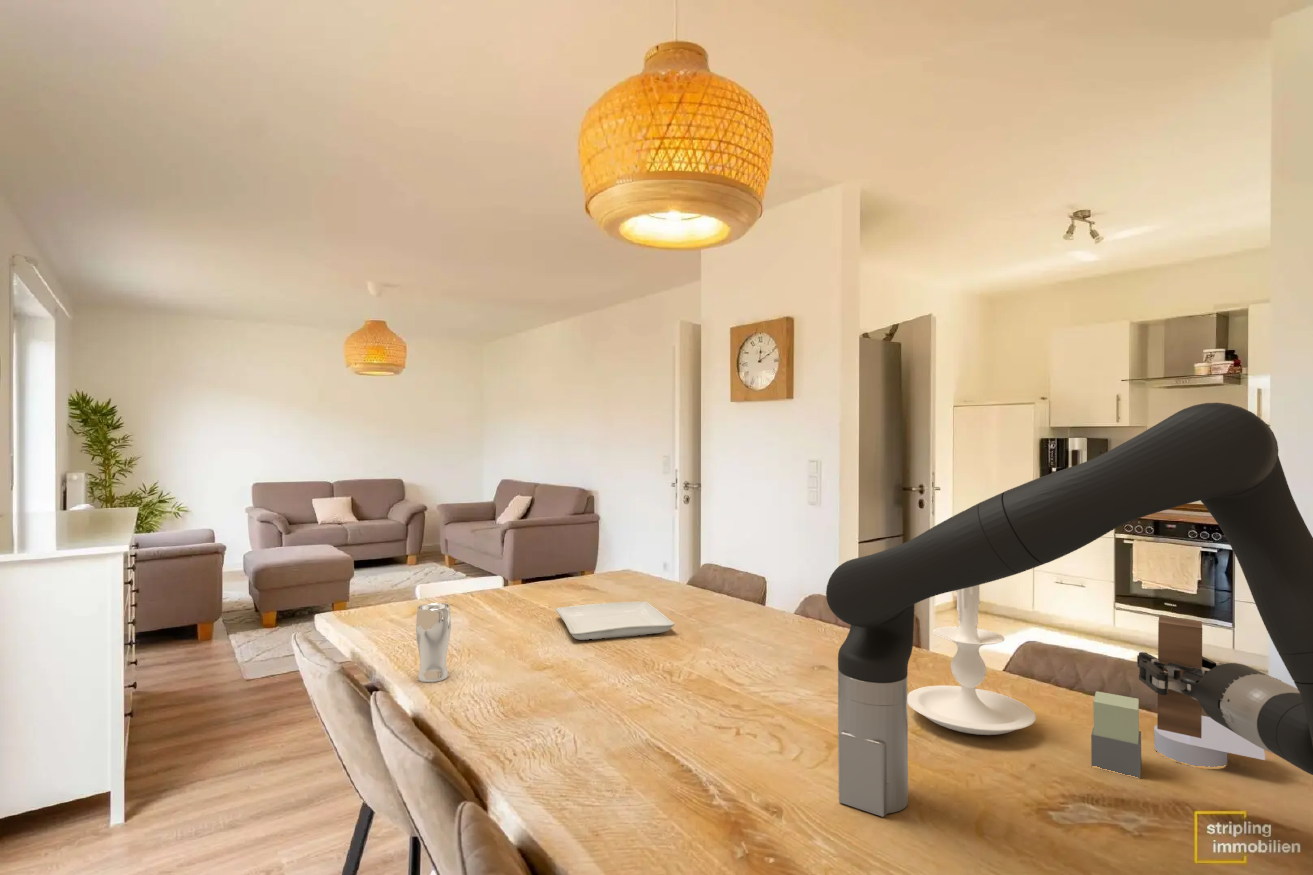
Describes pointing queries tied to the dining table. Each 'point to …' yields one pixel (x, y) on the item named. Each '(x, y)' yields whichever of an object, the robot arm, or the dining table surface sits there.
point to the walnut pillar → (1184, 646)
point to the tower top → (1116, 717)
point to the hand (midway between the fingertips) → (1168, 660)
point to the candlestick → (970, 681)
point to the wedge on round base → (1205, 745)
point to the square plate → (613, 620)
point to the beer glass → (433, 640)
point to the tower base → (1116, 755)
